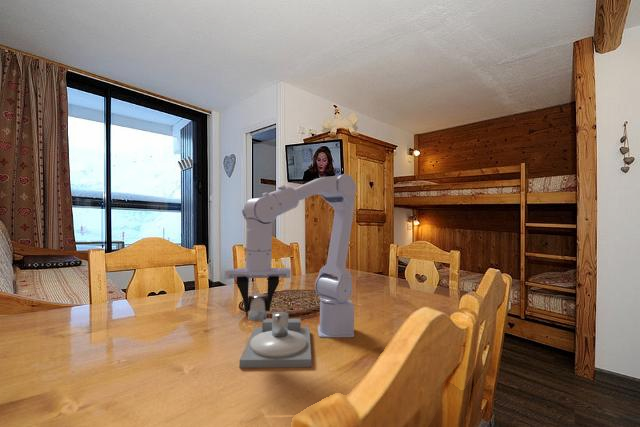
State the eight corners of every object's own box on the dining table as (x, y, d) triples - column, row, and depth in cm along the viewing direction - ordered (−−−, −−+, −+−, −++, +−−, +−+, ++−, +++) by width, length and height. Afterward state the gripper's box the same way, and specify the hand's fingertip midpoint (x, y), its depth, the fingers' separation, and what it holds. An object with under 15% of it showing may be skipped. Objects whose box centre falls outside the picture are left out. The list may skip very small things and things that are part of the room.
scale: (309, 332, 81) (309, 317, 81) (311, 367, 62) (311, 347, 62) (254, 332, 80) (254, 318, 80) (239, 367, 61) (239, 348, 61)
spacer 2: (287, 330, 75) (287, 311, 75) (288, 336, 71) (289, 316, 71) (271, 331, 74) (271, 311, 74) (272, 337, 70) (272, 317, 70)
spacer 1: (268, 315, 68) (268, 294, 68) (263, 321, 64) (264, 298, 64) (251, 315, 68) (252, 293, 68) (245, 320, 64) (246, 298, 64)
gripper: (289, 248, 72) (287, 303, 71) (227, 248, 69) (226, 306, 69) (292, 251, 65) (290, 312, 64) (224, 251, 62) (222, 315, 62)
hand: (257, 310), depth 66 cm, fingers closed on spacer 1, 4 cm apart
